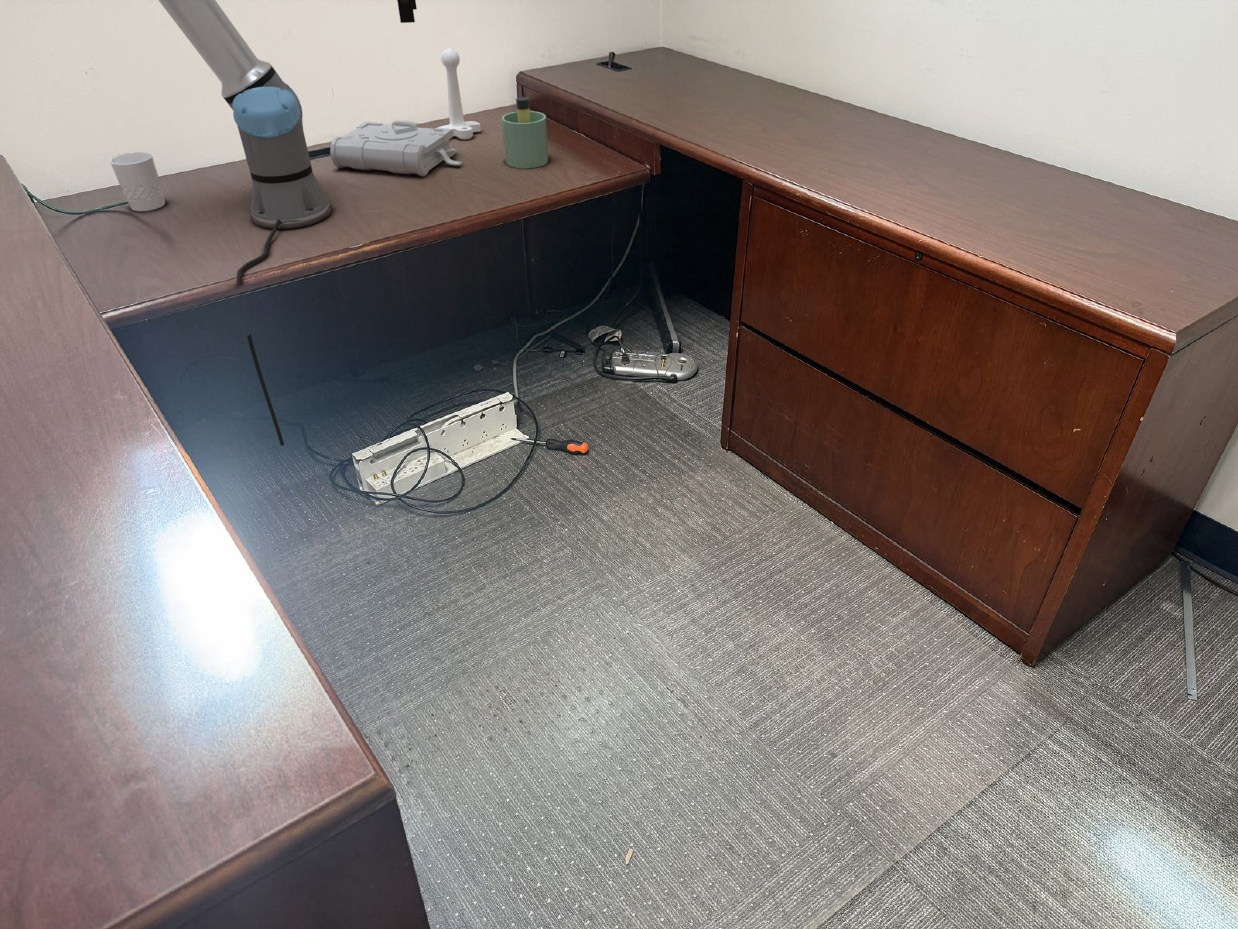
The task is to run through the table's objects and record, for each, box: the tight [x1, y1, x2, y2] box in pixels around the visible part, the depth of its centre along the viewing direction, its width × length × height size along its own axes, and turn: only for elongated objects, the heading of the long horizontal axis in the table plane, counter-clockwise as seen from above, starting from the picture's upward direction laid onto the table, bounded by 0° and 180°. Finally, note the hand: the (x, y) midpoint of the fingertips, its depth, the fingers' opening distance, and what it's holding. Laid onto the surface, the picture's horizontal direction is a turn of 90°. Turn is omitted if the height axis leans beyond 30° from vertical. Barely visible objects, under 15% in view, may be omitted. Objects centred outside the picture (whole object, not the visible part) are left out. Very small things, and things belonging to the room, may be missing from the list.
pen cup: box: [501, 110, 549, 169], centre depth 196 cm, size 10×10×10 cm
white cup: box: [109, 151, 166, 212], centre depth 175 cm, size 8×8×10 cm
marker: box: [515, 96, 531, 123], centre depth 194 cm, size 3×3×13 cm
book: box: [329, 119, 463, 177], centre depth 196 cm, size 19×28×8 cm
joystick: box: [437, 48, 482, 140], centre depth 208 cm, size 11×8×20 cm
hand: (408, 15), depth 171 cm, fingers open, 13 cm apart
